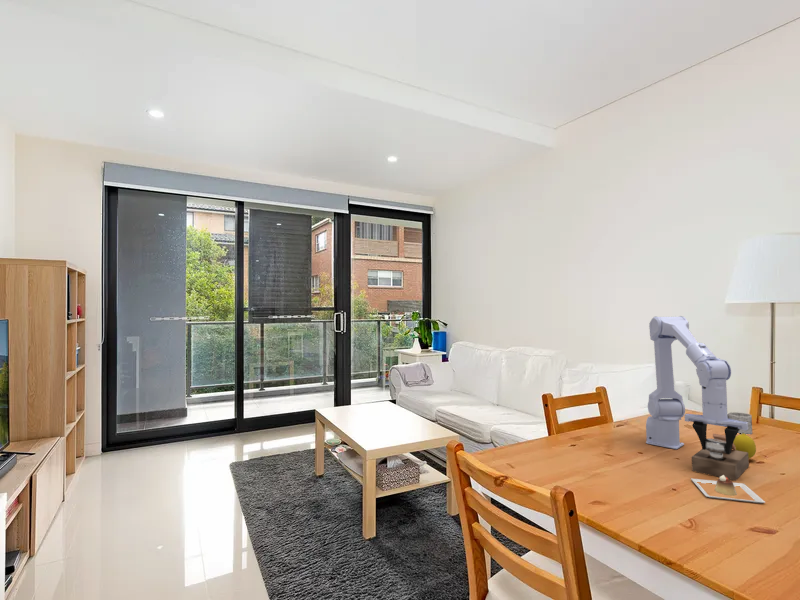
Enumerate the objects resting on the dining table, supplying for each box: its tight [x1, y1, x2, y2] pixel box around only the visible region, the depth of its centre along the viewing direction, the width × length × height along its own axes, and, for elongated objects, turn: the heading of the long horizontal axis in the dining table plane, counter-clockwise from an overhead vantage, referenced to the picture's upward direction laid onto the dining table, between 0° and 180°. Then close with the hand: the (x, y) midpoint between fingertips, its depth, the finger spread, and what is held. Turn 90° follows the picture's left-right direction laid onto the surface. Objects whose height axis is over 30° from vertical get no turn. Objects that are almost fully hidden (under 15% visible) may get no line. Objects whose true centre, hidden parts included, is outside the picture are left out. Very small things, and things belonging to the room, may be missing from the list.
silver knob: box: [705, 438, 726, 461], centre depth 122 cm, size 5×5×6 cm
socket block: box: [691, 448, 750, 482], centre depth 125 cm, size 10×16×4 cm, turn 131°
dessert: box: [690, 474, 766, 504], centre depth 109 cm, size 12×12×5 cm
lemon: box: [733, 434, 757, 459], centre depth 132 cm, size 6×6×8 cm
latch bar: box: [712, 433, 736, 450], centre depth 128 cm, size 8×4×1 cm
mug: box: [727, 411, 753, 435], centre depth 163 cm, size 10×7×7 cm
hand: (716, 451), depth 122 cm, fingers closed on silver knob, 5 cm apart
